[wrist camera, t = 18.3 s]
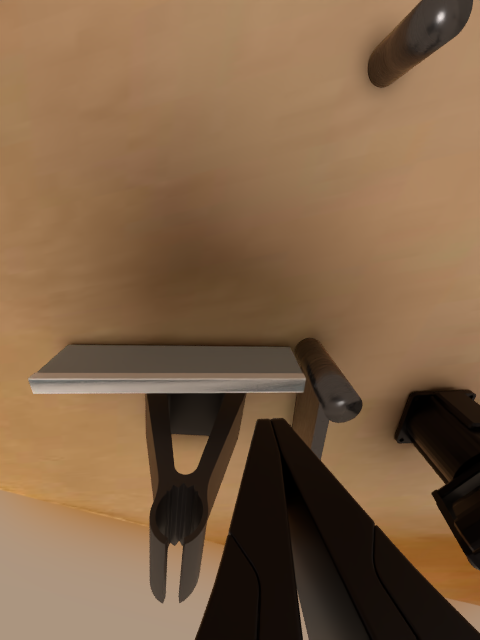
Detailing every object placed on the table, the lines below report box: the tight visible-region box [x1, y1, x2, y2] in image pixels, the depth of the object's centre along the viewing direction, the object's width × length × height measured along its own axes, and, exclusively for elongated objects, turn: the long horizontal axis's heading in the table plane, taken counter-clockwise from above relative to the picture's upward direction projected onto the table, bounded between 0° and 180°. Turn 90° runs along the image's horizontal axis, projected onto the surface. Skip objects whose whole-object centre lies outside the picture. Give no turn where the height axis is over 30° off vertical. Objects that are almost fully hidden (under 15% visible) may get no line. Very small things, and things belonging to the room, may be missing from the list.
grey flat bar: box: [28, 345, 306, 394], centre depth 19 cm, size 18×1×4 cm, turn 87°
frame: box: [292, 0, 473, 460], centre depth 17 cm, size 29×2×7 cm, turn 174°
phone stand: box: [145, 393, 246, 603], centre depth 19 cm, size 9×6×12 cm, turn 82°
